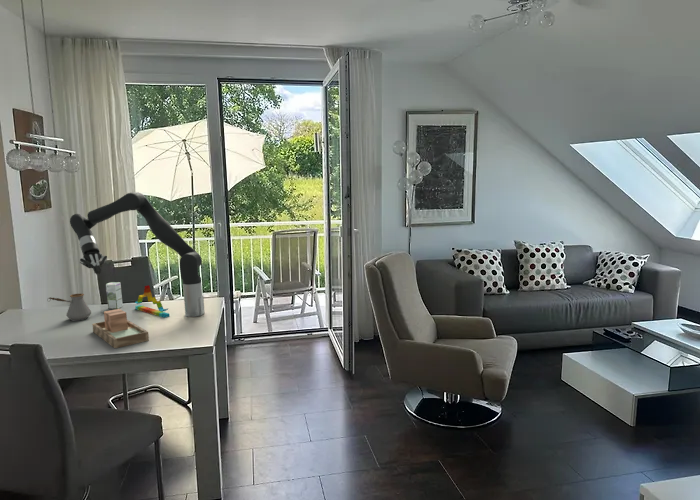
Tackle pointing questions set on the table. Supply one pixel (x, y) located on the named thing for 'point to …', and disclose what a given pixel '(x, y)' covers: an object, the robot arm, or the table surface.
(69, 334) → the table surface
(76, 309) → the coffee pot
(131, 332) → the pad
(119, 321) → the block
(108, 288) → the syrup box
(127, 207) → the robot arm
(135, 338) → the trough
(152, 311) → the multicoloured triangular frame
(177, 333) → the table surface
